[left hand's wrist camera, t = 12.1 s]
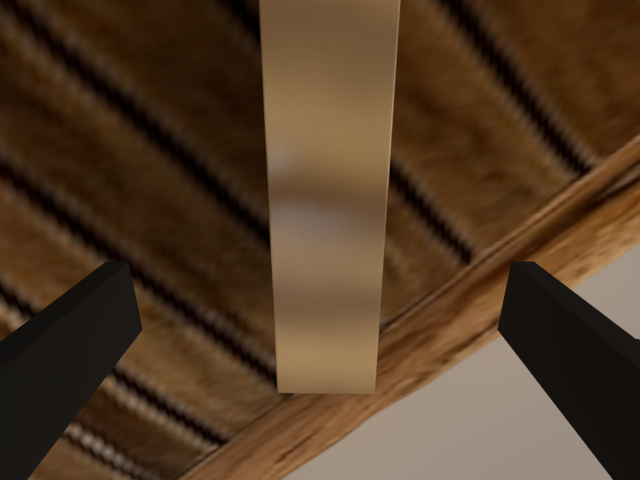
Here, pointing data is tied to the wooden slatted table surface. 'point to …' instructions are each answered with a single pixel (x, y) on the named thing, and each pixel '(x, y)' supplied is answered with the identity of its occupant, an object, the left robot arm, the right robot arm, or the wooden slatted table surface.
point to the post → (328, 184)
